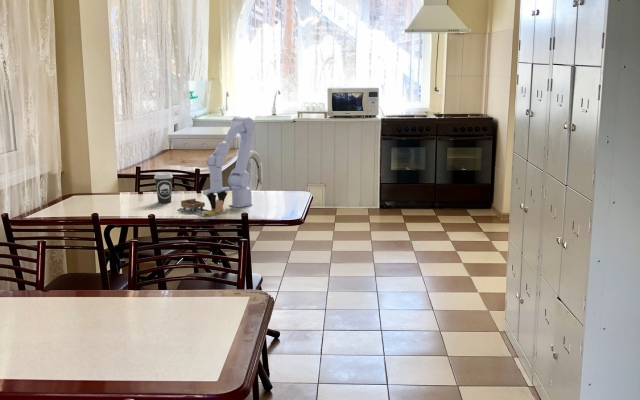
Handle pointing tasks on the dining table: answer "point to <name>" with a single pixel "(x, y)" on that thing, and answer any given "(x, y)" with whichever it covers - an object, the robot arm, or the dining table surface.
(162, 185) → the coffee cup
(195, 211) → the rail
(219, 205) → the block
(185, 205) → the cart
